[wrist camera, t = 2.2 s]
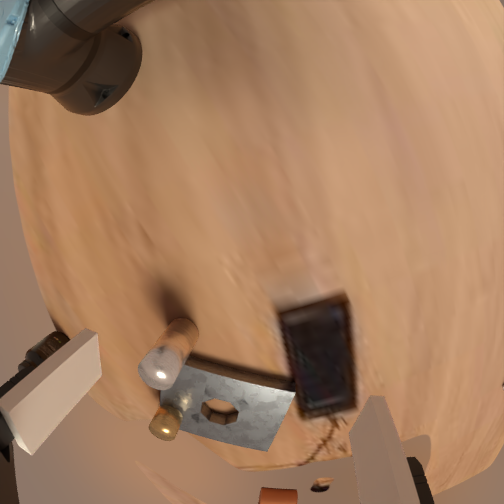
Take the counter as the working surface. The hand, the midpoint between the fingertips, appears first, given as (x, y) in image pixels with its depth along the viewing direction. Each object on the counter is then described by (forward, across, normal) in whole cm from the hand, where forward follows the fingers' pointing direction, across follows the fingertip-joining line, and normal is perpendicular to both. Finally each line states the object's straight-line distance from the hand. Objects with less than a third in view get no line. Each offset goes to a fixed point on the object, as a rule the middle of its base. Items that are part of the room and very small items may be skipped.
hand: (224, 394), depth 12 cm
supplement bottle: (+26, -35, -26) cm, 50 cm away
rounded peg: (+26, -9, -14) cm, 31 cm away
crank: (+27, +15, -61) cm, 68 cm away
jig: (+26, -2, -26) cm, 37 cm away
